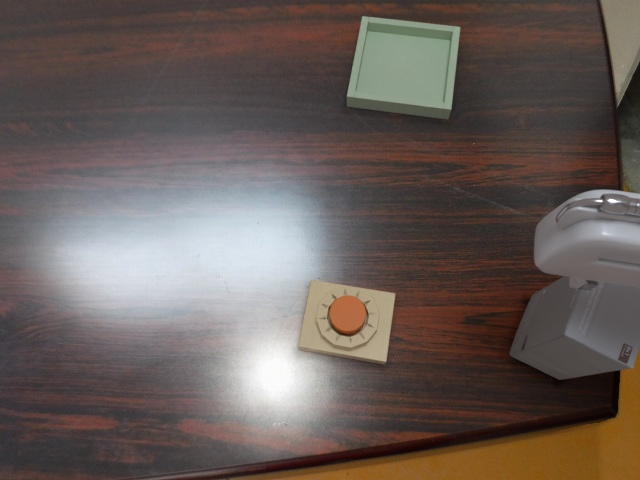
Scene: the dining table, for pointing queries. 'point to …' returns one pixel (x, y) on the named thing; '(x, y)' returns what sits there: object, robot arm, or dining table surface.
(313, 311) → the orange push button box
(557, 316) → the cosmetic box
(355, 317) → the button
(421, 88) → the shallow square tray
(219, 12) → the dining table surface
